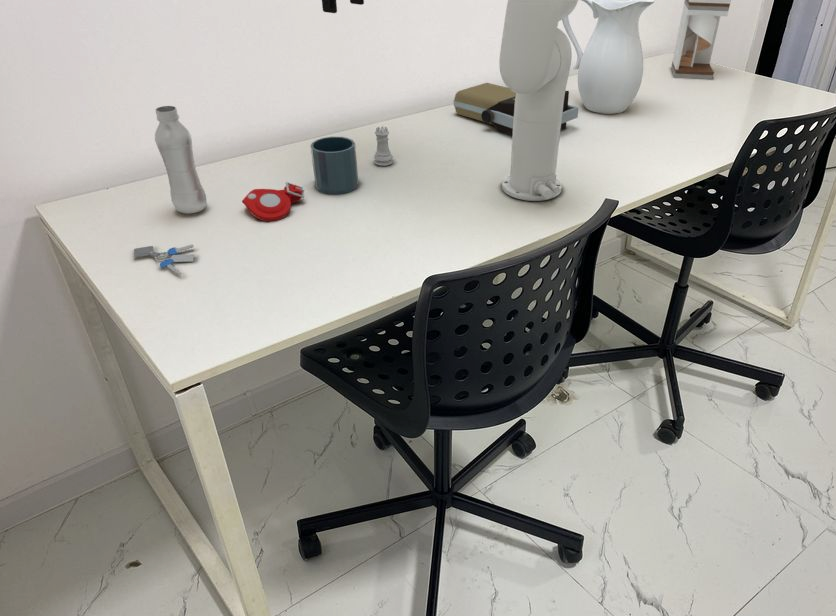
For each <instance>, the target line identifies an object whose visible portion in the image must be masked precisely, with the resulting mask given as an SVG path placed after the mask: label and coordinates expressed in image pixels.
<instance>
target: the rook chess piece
mask: <svg viewBox="0 0 836 616" xmlns="http://www.w3.org/2000/svg"><path fill="white" fill-rule="evenodd" d="M374 135H375V136H376V139H375V140H376V152H375V154H374V156H373V159H374V161H373V163H374V164H375V166H377V167H389V166H392V164H393V163H394V159H393V158H394V155H393V154H392V152H391V150H390V147H389V138H388V137H389V135H390V131H389V130H388V127H386V126H381V127H380V126H377V127H376V128H375V131H374Z"/></svg>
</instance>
